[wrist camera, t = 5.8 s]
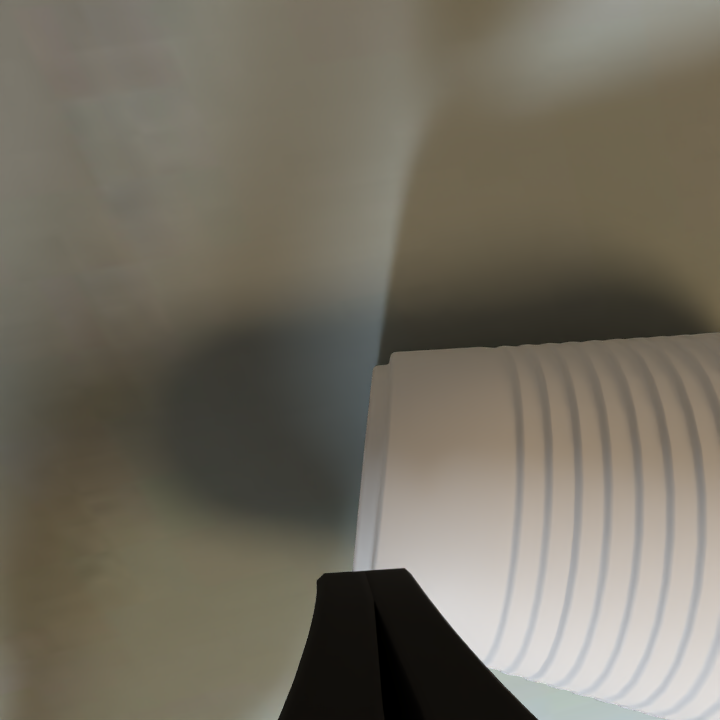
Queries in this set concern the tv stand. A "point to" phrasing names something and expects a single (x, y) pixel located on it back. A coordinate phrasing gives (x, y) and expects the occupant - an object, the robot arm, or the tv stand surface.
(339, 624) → the robot arm
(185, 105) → the tv stand surface
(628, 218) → the tv stand surface
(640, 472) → the cup
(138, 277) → the tv stand surface
